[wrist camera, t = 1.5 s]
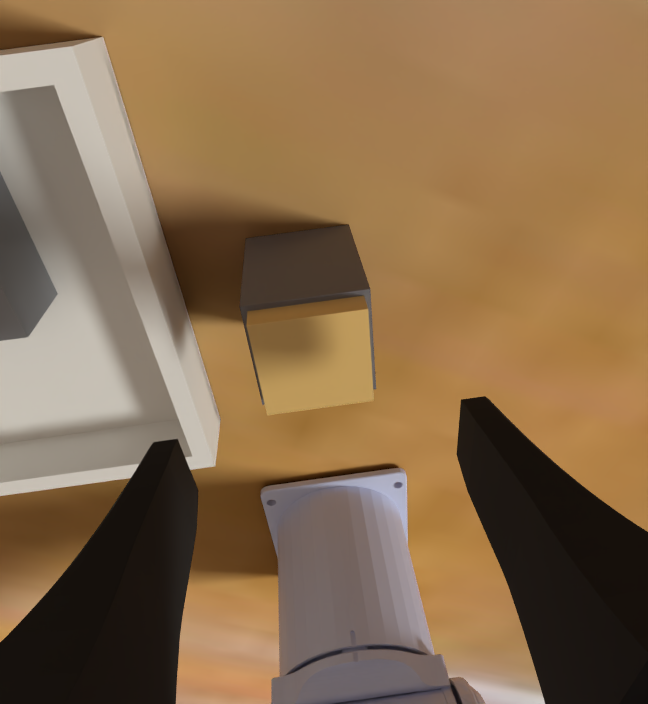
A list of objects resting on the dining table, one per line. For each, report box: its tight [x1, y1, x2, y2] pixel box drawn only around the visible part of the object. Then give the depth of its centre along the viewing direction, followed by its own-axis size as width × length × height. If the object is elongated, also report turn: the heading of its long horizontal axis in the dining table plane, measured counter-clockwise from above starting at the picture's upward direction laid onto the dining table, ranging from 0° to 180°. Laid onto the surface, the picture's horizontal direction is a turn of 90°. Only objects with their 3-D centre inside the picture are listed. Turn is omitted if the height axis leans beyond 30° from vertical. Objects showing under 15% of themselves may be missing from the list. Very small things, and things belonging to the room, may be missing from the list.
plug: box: [240, 225, 376, 415], centre depth 18 cm, size 4×4×6 cm
